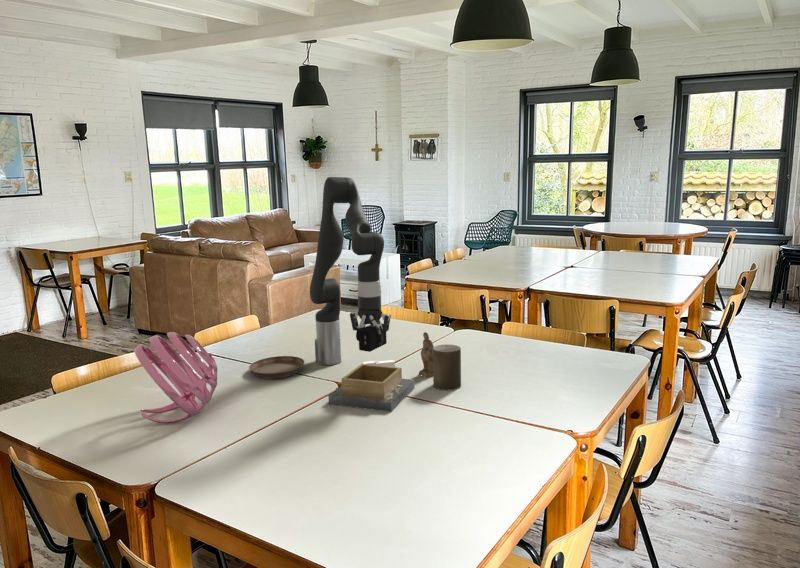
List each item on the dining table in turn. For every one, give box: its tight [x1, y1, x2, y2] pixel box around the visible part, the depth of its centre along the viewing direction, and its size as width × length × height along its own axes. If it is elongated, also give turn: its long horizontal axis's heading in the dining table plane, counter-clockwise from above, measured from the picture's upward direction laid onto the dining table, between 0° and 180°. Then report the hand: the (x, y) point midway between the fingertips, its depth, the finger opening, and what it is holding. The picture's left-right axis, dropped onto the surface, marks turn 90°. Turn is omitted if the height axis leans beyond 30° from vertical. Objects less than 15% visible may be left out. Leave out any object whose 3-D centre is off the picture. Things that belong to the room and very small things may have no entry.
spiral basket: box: [133, 331, 218, 424], centre depth 198 cm, size 28×28×27 cm
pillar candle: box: [432, 343, 462, 391], centre depth 219 cm, size 10×10×15 cm
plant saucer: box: [248, 355, 305, 379], centre depth 240 cm, size 21×21×3 cm
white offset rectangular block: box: [361, 359, 396, 367], centre depth 234 cm, size 15×11×6 cm
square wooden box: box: [327, 363, 416, 413], centre depth 212 cm, size 22×22×8 cm
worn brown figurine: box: [418, 331, 435, 378], centre depth 233 cm, size 12×6×18 cm, turn 131°
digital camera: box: [355, 322, 387, 353], centre depth 209 cm, size 10×5×7 cm, turn 150°
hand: (371, 343), depth 209 cm, fingers closed on digital camera, 5 cm apart
